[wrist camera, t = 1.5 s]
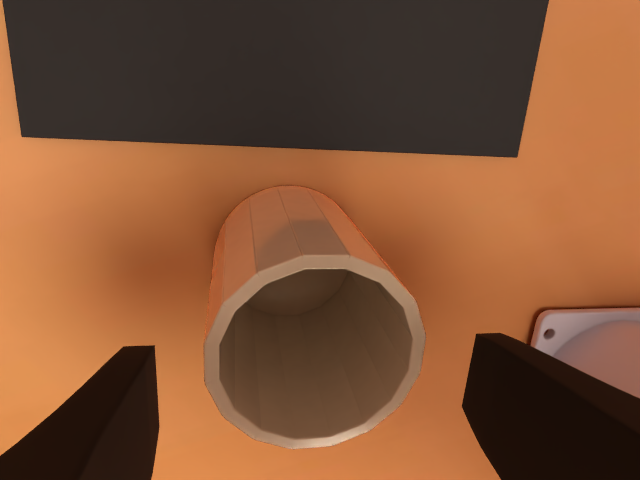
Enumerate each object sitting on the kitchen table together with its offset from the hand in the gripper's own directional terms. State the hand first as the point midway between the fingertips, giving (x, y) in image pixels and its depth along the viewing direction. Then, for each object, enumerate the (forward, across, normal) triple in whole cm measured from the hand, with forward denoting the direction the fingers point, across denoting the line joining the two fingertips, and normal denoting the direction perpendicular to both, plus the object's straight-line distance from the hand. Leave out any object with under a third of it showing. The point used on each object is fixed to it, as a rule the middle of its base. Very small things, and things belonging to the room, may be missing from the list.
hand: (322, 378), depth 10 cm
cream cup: (+8, 0, 0) cm, 8 cm away
